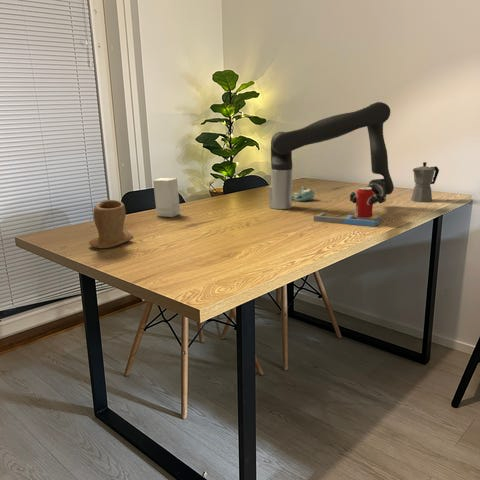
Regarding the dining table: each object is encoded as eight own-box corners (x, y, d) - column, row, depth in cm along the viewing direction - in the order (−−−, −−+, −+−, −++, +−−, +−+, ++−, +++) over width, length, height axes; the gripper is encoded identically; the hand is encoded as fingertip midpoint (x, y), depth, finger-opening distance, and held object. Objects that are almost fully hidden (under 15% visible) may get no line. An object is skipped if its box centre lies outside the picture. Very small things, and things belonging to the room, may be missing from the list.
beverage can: (372, 220, 179) (374, 189, 176) (355, 220, 180) (357, 189, 177) (371, 216, 185) (373, 186, 182) (354, 216, 186) (356, 186, 183)
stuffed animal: (289, 187, 233) (313, 183, 229) (292, 201, 234) (316, 197, 231) (286, 190, 223) (311, 186, 219) (289, 205, 224) (314, 201, 221)
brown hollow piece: (108, 253, 148) (103, 206, 144) (84, 247, 155) (79, 202, 151) (143, 241, 160) (140, 198, 156) (119, 237, 167) (116, 195, 163)
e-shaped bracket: (313, 220, 186) (313, 215, 185) (322, 215, 195) (322, 210, 195) (374, 226, 175) (375, 221, 175) (381, 220, 185) (381, 215, 184)
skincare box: (180, 214, 201) (178, 178, 196) (171, 217, 195) (169, 180, 191) (163, 213, 204) (161, 177, 200) (155, 216, 198) (152, 179, 194)
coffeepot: (417, 203, 215) (421, 164, 210) (403, 200, 224) (406, 162, 219) (443, 200, 221) (447, 162, 216) (428, 197, 229) (431, 160, 225)
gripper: (355, 183, 195) (344, 190, 181) (391, 185, 188) (382, 192, 174) (354, 201, 197) (343, 209, 183) (389, 203, 191) (381, 212, 176)
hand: (362, 201), depth 179 cm, fingers closed on beverage can, 6 cm apart
